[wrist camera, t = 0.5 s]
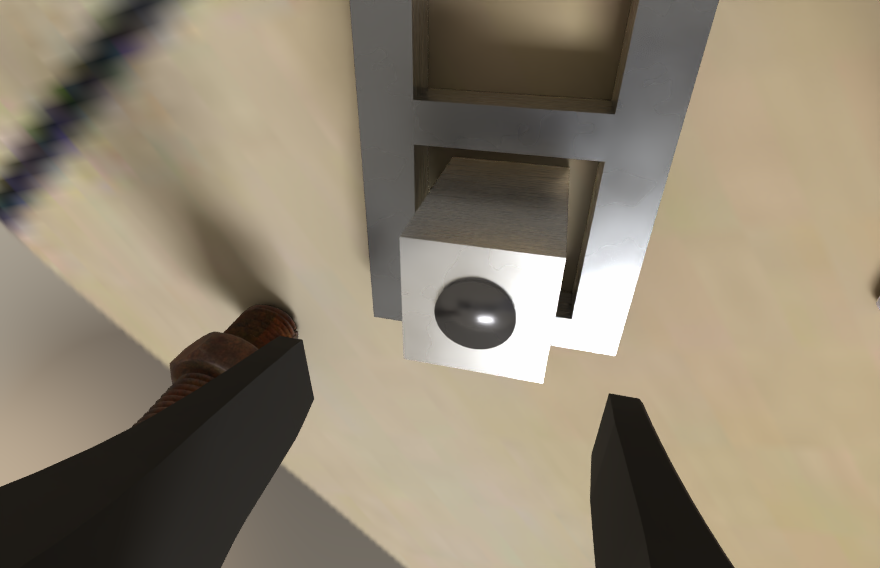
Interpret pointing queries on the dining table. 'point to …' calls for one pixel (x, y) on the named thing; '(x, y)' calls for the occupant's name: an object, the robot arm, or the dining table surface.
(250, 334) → the bolt
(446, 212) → the grey rectangular block
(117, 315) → the dining table surface
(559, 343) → the frame with rectangular openings
